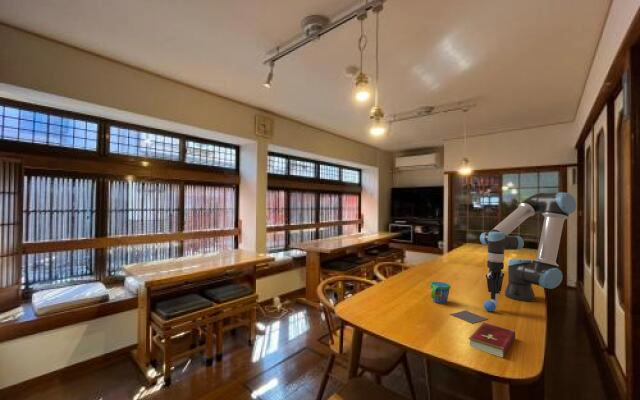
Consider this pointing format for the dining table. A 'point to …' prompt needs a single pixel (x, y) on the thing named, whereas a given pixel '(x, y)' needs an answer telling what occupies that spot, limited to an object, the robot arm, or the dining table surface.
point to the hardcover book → (492, 339)
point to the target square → (469, 317)
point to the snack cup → (440, 292)
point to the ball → (489, 306)
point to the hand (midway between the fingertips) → (494, 305)
